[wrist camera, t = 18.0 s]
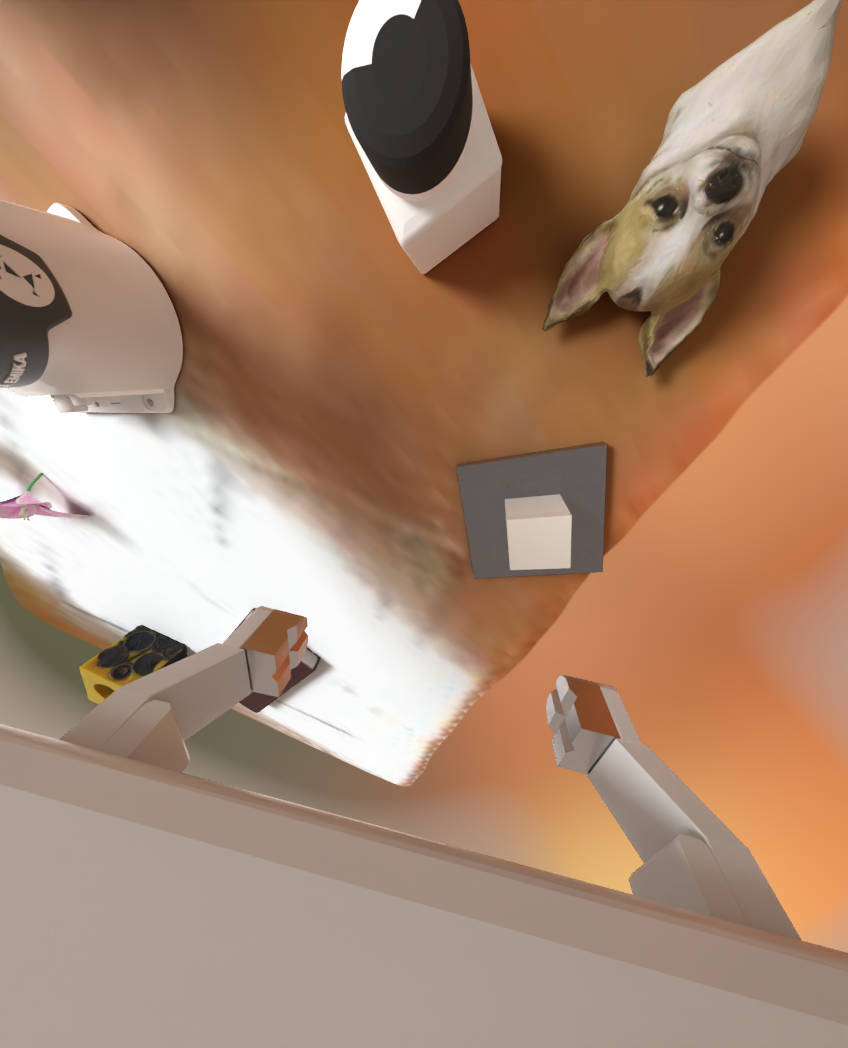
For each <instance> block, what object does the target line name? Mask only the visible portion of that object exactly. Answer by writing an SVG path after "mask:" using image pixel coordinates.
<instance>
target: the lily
mask: <svg viewBox="0 0 848 1048" xmlns="http://www.w3.org/2000/svg"><path fill="white" fill-rule="evenodd" d="M42 475H43V473H40V474H39V475H38V476H37V477H36V478H35V479H34V481H33V482H32V483H31V484H30V485H29V487H28V489H27V490H26V492H25V493H24V494H23V495H21V496H18V497H15V498H13V499H10V500H7V501H3V502H0V518H24V520H25V518H26V517H27V519H28V520H29V518H28V517H30V516H33V515H34V514H37V515H44V516H55V517H86V516H88V515H76V514H66V513H61V512H56V511H52V510H50V509H49V508H51V507H52V506H51V503H49V502H45V503H41V502H40V501H38V500H37V499H35V498H34V497H32V496H31V495H30V494H29V492H30V489H31V487H32V486H33V484H34V483H35V482H36V481H37V480H38V479H39V478H40V477H41V476H42Z"/></svg>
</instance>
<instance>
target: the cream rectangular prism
mask: <svg viewBox="0 0 848 1048" xmlns="http://www.w3.org/2000/svg"><path fill="white" fill-rule="evenodd" d="M505 512H506V526H507V540H508V552H509V563H510V570H530V569H560V568H570V565H571V525H572V515H571V513H570V511H569V509H568V508H567V506H566V504H565V502H564V501H563V499H562V497H561V495H560V494H556V495H545V496H534V497H523V498H512V499H505Z"/></svg>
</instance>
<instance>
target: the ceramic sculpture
mask: <svg viewBox="0 0 848 1048" xmlns="http://www.w3.org/2000/svg"><path fill="white" fill-rule="evenodd" d="M842 1H843V0H814V1H813V2H811V3H810V4H809V5H807V6H806V7H804V8H803V9H801V10H800V11H798V12H797V13H795V14H794V15H792V16H790V17H789V18H787V19H785V20H783V21H782V22H780V23H778V24H777V25H775V26H774V27H773V28H771V29H770V30H769V31H767V32H766V33H765V34H763V35H762V36H761V37H759V38H758V39H757V40H755V41H754V42H753V43H751V44H750V45H749V46H747V47H746V48H744V49H743V50H741V51H740V52H738V53H737V54H735V55H734V56H732V57H731V58H730V59H728V60H727V61H725V62H724V63H723V64H721V65H720V66H718V67H717V68H716V69H715V70H713V71H712V72H711V73H710V74H709V75H707V76H706V77H705V78H704V79H703V80H701V81H700V82H699V83H698V84H696V85H695V86H693V87H691V88H690V89H688V90H687V91H685V92H684V93H682V95H681V96H680V97H679V99H678V100H677V101H676V102H675V104H674V106H673V108H672V109H671V111H670V113H669V116H668V121H667V124H666V127H665V130H664V135H663V141H662V143H661V145H660V147H659V149H658V150H657V152H656V154H655V156H654V157H653V158H652V160H651V162H650V164H649V165H648V166H647V167H646V168H645V169H644V170H643V172H642V175H641V177H640V179H639V181H638V183H637V185H636V186H635V188H634V189H633V191H632V194H631V197H630V199H629V202H628V203H627V204H626V206H625V207H624V208H623V210H622V211H621V212H620V213H619V214H617V215H616V216H615V217H613V218H612V219H610V220H608V221H606V222H604V223H602V224H600V225H599V226H597V227H596V228H595V229H594V230H593V231H592V232H590V233H589V234H588V235H587V236H586V237H585V238H583V240H582V241H581V243H580V245H579V247H578V248H577V250H576V251H575V253H574V254H573V256H572V257H571V258H570V260H569V261H568V262H567V263H566V264H565V267H564V269H563V272H562V274H561V277H560V279H559V281H558V283H557V286H556V289H555V291H554V293H553V296H552V299H551V302H550V304H549V309H548V313H547V316H546V319H545V322H544V325H543V328H542V330H543V331H546V330H549V329H550V328H552V327H553V326H555V325H557V324H558V323H561V322H564V321H567V320H569V319H572V318H575V317H578V316H581V315H583V314H584V313H585V312H587V311H588V310H589V309H590V308H591V307H592V306H593V304H594V303H595V302H596V301H598V300H599V298H600V297H601V295H602V294H603V293H604V292H606V291H607V292H608V293H609V295H610V298H611V299H612V300H613V301H614V302H615V303H616V304H617V305H618V306H619V307H621V308H623V309H625V310H629V311H651V314H650V316H649V317H648V318H647V319H646V321H645V322H644V323H643V325H642V327H641V329H640V331H639V336H638V342H639V346H640V351H641V355H642V359H643V363H644V373H645V377H647V378H650V377H651V376H652V375H653V374H654V372H655V371H656V370H657V369H658V367H659V366H660V364H661V363H662V362H663V361H664V360H665V359H666V358H667V357H668V356H669V355H670V354H671V353H672V352H673V351H674V350H675V349H676V348H677V347H678V346H679V345H680V344H681V343H682V342H683V341H684V340H685V339H686V337H687V336H688V335H689V334H691V333H692V332H693V331H694V330H695V329H696V328H697V327H698V326H699V325H700V323H701V322H702V321H703V318H704V316H705V313H706V312H707V310H708V309H709V307H710V306H711V305H712V304H713V302H714V301H715V300H716V297H717V293H718V289H719V286H720V267H721V265H722V263H723V261H724V260H725V259H726V258H727V256H728V255H729V253H730V252H731V250H732V249H733V247H734V246H735V244H736V243H737V241H738V240H739V239H740V238H741V236H742V235H743V234H744V233H745V231H746V229H747V227H748V226H749V224H750V222H751V220H752V219H753V218H754V216H755V214H756V212H757V209H758V206H759V203H760V201H761V198H762V196H763V194H764V191H765V188H766V186H767V185H768V184H769V183H770V181H771V180H772V179H773V178H774V177H775V175H776V174H777V173H778V172H779V171H780V170H781V169H783V168H784V167H785V166H786V165H787V164H788V163H789V162H790V161H791V160H792V159H793V158H794V157H795V155H796V154H797V153H798V151H799V150H800V148H801V147H802V143H803V139H804V135H805V133H806V131H807V130H808V128H809V126H810V124H811V122H812V120H813V118H814V115H815V113H816V111H817V108H818V104H819V101H820V98H821V94H822V91H823V86H824V82H825V79H826V75H827V71H828V67H829V63H830V58H831V52H832V47H833V40H834V32H835V27H836V22H837V16H838V13H839V10H840V7H841V4H842Z"/></svg>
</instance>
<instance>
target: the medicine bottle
mask: <svg viewBox="0 0 848 1048" xmlns="http://www.w3.org/2000/svg"><path fill="white" fill-rule="evenodd" d="M342 92H343V99H344V105H345V109H346V114H345V123H346V126H347V129H348V131H349V133H350V135H351V137H352V140H353V142H354V144H355V146H356V148H357V151H358V153H359V155H360V157H361V160H362V162H363V164H364V166H365V168H366V171H367V173H368V175H369V177H370V179H371V182H372V184H373V186H374V188H375V191H376V193H377V195H378V197H379V199H380V202H381V204H382V206H383V208H384V211H385V213H386V215H387V217H388V219H389V222H390V224H391V226H392V228H393V230H394V233H395V235H396V237H397V239H398V242H399V244H400V245H401V246H402V248H403V249H404V251H405V252H406V253H407V255H408V256H409V258H410V259H411V261H412V262H413V263H414V265H415V266H416V268H417V269H418V270H419V272H420V273H421V274H426V273H427V272H428V271H429V270H431V269H432V268H433V267H435V266H436V265H437V264H439V263H440V262H441V261H443V260H444V259H445V258H446V257H448V256H449V255H450V254H452V253H453V252H454V251H456V250H457V249H458V248H460V247H461V246H462V245H463V244H465V243H466V242H467V241H469V240H470V239H471V238H473V237H474V236H475V235H476V234H478V233H479V232H480V231H482V230H483V229H484V228H486V227H487V226H488V225H490V224H491V223H492V222H493V221H495V220H496V219H497V218H498V217H499V214H500V201H501V182H502V156H501V153H500V150H499V147H498V144H497V141H496V138H495V135H494V132H493V129H492V126H491V123H490V120H489V117H488V114H487V111H486V108H485V105H484V102H483V99H482V96H481V93H480V90H479V87H478V84H477V81H476V78H475V75H474V72H473V69H472V66H471V63H470V50H469V40H468V32H467V27H466V22H465V18H464V15H463V12H462V9H461V6H460V4H459V2H458V0H359V2H358V4H357V6H356V9H355V11H354V13H353V15H352V18H351V21H350V24H349V27H348V30H347V34H346V38H345V43H344V49H343V56H342Z"/></svg>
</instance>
